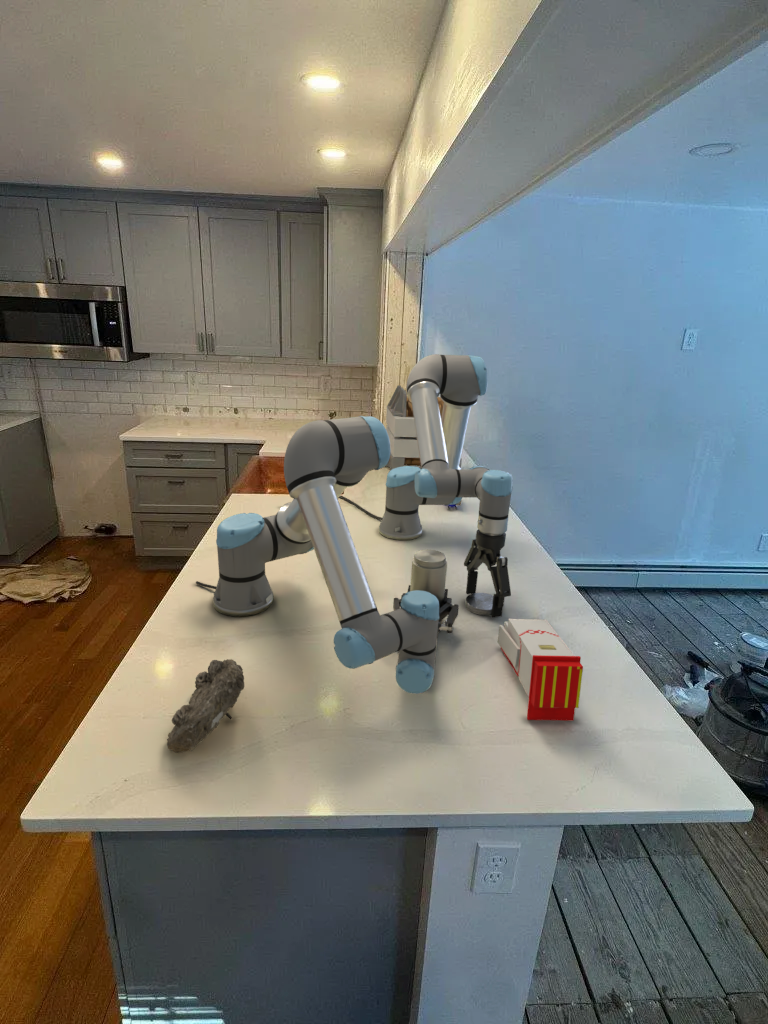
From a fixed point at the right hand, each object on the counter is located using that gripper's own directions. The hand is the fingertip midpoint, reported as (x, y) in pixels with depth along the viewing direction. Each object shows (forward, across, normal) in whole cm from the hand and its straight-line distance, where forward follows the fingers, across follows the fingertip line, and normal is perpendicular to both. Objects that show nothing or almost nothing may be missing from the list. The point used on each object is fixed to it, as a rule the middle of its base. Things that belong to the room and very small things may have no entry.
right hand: (483, 604), depth 153 cm
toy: (+1, +31, -6) cm, 32 cm away
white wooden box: (0, -124, +38) cm, 130 cm away
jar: (+1, +3, -19) cm, 19 cm away
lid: (-1, 0, 0) cm, 1 cm away
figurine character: (+1, -77, +31) cm, 83 cm away
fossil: (+1, +22, -72) cm, 76 cm away
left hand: (-6, -1, -16) cm, 17 cm away
